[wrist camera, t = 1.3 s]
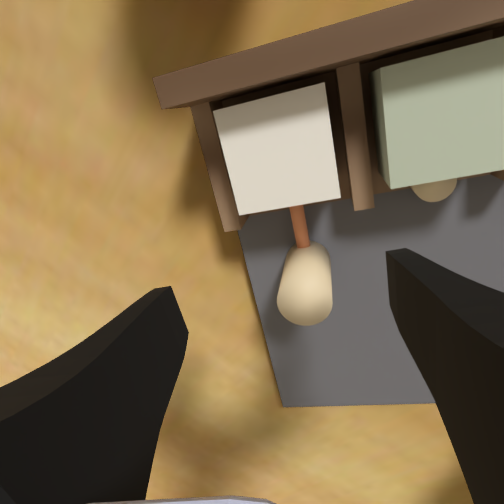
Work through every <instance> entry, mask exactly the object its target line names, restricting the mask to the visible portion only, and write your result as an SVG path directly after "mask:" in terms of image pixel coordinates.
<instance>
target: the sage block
mask: <svg viewBox="0 0 504 504" xmlns="http://www.w3.org/2000/svg"><path fill="white" fill-rule="evenodd" d="M369 82H370V93H371V103H372V113H373V123H374V133H375V143H376V153H377V164H378V172H379V173H380V175H381V176H382V178H383V179H384V180H385V182H386V183H387V185H388V186H389V187H390V189H395V188H401V187H407V186H410V187H411V189H412V190H413V191H414V192H415V194H416V195H417V196H418V197H419V198H421V199H422V200H424V201H427V202H437V201H441V200H443V199H445V198H447V197H448V196H449V195H450V194H451V193H452V192H453V190H454V189H455V187H456V183H457V178H459V177H465V176H470V175H476V174H482V173H488V172H494V171H499V170H504V36H503V37H499V38H495V39H491V40H487V41H483V42H479V43H476V44H472V45H468V46H464V47H460V48H456V49H452V50H448V51H444V52H440V53H437V54H433V55H429V56H425V57H421V58H417V59H413V60H409V61H405V62H402V63H398V64H394V65H390V66H386V67H382V68H379V69H377V70H375V71H373V72H370V73H369Z"/></svg>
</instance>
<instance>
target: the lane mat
mask: <svg viewBox="0 0 504 504" xmlns="http://www.w3.org/2000/svg"><path fill="white" fill-rule="evenodd" d="M373 197H374V206H375V208H370V209H364V210H358V211H354V207H353V203H352V200H351V198H350V199H344V200H339V201H333V202H327V203H321V204H315V205H309V206H304V213H305V218H306V224H307V229H308V235H309V240H310V241H315V242H317V243H320V244H321V245H323V246H324V247H325V248H326V249H327V251H328V252H329V255H330V259H331V280H332V302H333V304H332V310H331V312H330V314H329V315H328V317H327V318H326V319H325V320H323V321H322V322H320V323H318V324H315V325H310V326H302V325H297V324H294V323H292V322H290V321H288V320H287V319H286V318H285V317H284V316H283V315H282V314H281V313H280V311H279V309H278V306H277V295H278V291H279V286H280V282H281V278H282V273H283V269H284V264H285V260H286V256H287V253H288V251H289V249H290V248H291V247H292V246H293V245H295V244H296V239H295V234H294V229H293V224H292V219H291V214H290V209H286V210H280V211H274V212H269V213H263V214H257V215H251V216H249V217H248V219H247V221H246V222H245V224H244V226H243V227H242V229H241V230H238V234H239V238H240V242H241V246H242V250H243V254H244V257H245V261H246V265H247V269H248V273H249V277H250V281H251V284H252V288H253V292H254V296H255V300H256V304H257V308H258V312H259V315H260V319H261V323H262V327H263V331H264V335H265V339H266V343H267V346H268V350H269V354H270V358H271V362H272V366H273V370H274V373H275V377H276V381H277V385H278V389H279V393H280V397H281V401H282V404H283V407H311V406H348V405H385V404H422V403H435V400H434V398H433V396H432V394H431V392H430V390H429V388H428V386H427V384H426V382H425V380H424V378H423V377H422V375H421V373H420V371H419V369H418V367H417V365H416V363H415V361H414V359H413V358H412V356H411V354H410V352H409V350H408V348H407V346H406V344H405V342H404V340H403V338H402V336H401V334H400V332H399V330H398V327H397V325H396V322H395V319H394V316H393V314H392V311H391V308H390V305H389V292H388V278H387V265H386V252H385V251H390V250H396V249H402V248H407V249H410V250H412V251H414V252H416V253H418V254H420V255H422V256H423V257H425V258H427V259H429V260H431V261H433V262H435V263H437V264H439V265H441V266H443V267H445V268H447V269H449V270H451V271H453V272H455V273H457V274H459V275H462V276H464V277H466V278H468V279H471V280H473V281H475V282H478V283H480V284H483V285H485V286H487V287H490V288H493V289H495V290H498V291H501V292H504V181H503V180H501V179H499V178H497V177H495V176H493V175H491V174H490V175H485V176H479V177H473V178H467V179H461V180H457V183H456V187H455V189H454V190H453V192H452V193H451V194H450V195H449V196H448V197H447V198H445V199H443V200H441V201H437V202H427V201H424V200H422V199H421V198H419V197H418V196H417V195H416V194H415V192H414V191H413V190H412V189H411V188H409V189H403V190H397V191H391V192H385V193H379V194H374V195H373Z"/></svg>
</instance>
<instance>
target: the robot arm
mask: <svg viewBox="0 0 504 504" xmlns="http://www.w3.org/2000/svg"><path fill="white" fill-rule="evenodd" d="M385 252H386V265H387V278H388V292H389V305H390V308H391V311H392V314H393V316H394V319H395V322H396V325H397V327H398V330H399V332H400V334H401V336H402V338H403V340H404V342H405V344H406V346H407V348H408V350H409V352H410V354H411V356H412V358H413V359H414V361H415V363H416V365H417V367H418V369H419V371H420V373H421V375H422V377H423V378H424V380H425V382H426V384H427V386H428V388H429V390H430V392H431V394H432V396H433V398H434V400H435V403H436V405H437V407H438V410H439V412H440V415H441V417H442V420H443V422H444V425H445V427H446V430H447V432H448V435H449V437H450V440H451V443H452V445H453V448H454V451H455V453H456V456H457V459H458V461H459V464H460V466H461V469H462V472H463V474H464V477H465V480H466V483H467V485H468V488H469V491H470V494H471V496H472V499H473V502H474V504H504V292H501V291H498V290H495V289H493V288H490V287H487V286H485V285H483V284H480V283H478V282H475V281H473V280H471V279H468V278H466V277H464V276H462V275H459V274H457V273H455V272H453V271H451V270H449V269H447V268H445V267H443V266H441V265H439V264H437V263H435V262H433V261H431V260H429V259H427V258H425V257H423V256H422V255H420V254H418V253H416V252H414V251H412V250H410V249H407V248H402V249H396V250H390V251H385ZM188 333H189V332H188V329H187V327H186V324H185V322H184V319H183V316H182V314H181V311H180V309H179V306H178V303H177V301H176V298H175V295H174V293H173V290H172V288H171V286H168V287H162V288H156V289H153V290H152V291H150V292H148V293H147V294H145V295H144V296H143V297H141V298H140V299H139V300H137V301H136V302H135V303H133V304H132V305H131V306H129V307H128V308H127V309H126V310H124V311H123V312H122V313H120V314H119V315H118V316H116V317H115V318H114V319H113V320H111V321H110V322H109V323H107V324H106V325H104V326H103V327H102V328H100V329H99V330H98V331H96V332H95V333H93V334H92V335H91V336H89V337H88V338H87V339H85V340H84V341H82V342H81V343H79V344H78V345H76V346H75V347H73V348H72V349H70V350H68V351H67V352H65V353H64V354H62V355H60V356H59V357H57V358H55V359H54V360H52V361H50V362H49V363H47V364H45V365H43V366H41V367H39V368H37V369H36V370H34V371H32V372H30V373H28V374H26V375H24V376H22V377H21V378H19V379H17V380H15V381H13V382H11V383H9V384H7V385H4V386H2V387H0V504H276V503H273V502H271V501H269V500H267V499H260V498H251V497H241V496H214V497H195V498H176V499H158V500H145V498H146V493H147V488H148V483H149V478H150V473H151V468H152V463H153V458H154V454H155V449H156V445H157V441H158V436H159V432H160V428H161V425H162V422H163V418H164V415H165V412H166V409H167V406H168V404H169V401H170V398H171V395H172V392H173V389H174V386H175V383H176V381H177V378H178V375H179V372H180V369H181V366H182V363H183V360H184V356H185V351H186V346H187V340H188Z"/></svg>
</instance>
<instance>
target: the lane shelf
mask: <svg viewBox="0 0 504 504" xmlns="http://www.w3.org/2000/svg"><path fill="white" fill-rule="evenodd" d="M503 36H504V0H414V1H410V2H407V3H403V4H400V5H397V6H393V7H390V8H387V9H383V10H380V11H376V12H373V13H370V14H366V15H363V16H360V17H356V18H353V19H349V20H346V21H343V22H339V23H336V24H333V25H329V26H326V27H322V28H319V29H316V30H312V31H309V32H306V33H302V34H299V35H295V36H292V37H289V38H285V39H282V40H279V41H275V42H272V43H268V44H265V45H262V46H258V47H255V48H252V49H248V50H245V51H241V52H238V53H235V54H231V55H228V56H225V57H221V58H218V59H214V60H211V61H208V62H204V63H201V64H198V65H194V66H191V67H187V68H184V69H181V70H177V71H174V72H171V73H167V74H164V75H160V76H157V77H154V78H152V79H153V82H154V85H155V89H156V92H157V95H158V99H159V102H160V105H161V108H162V109H171V108H182V107H191V111H192V115H193V118H194V122H195V126H196V129H197V133H198V137H199V140H200V144H201V148H202V151H203V155H204V159H205V162H206V166H207V170H208V173H209V177H210V181H211V184H212V188H213V192H214V195H215V199H216V203H217V206H218V210H219V214H220V217H221V221H222V225H223V228H224V232H228V231H235V230H241V229H242V227H243V226H244V224H245V222H246V221H247V219H248V217H249V216H251V215H257V214H263V213H269V212H274V211H280V210H286V209H290V208H289V207H285V208H280V209H274V210H268V211H262V212H256V213H251V214H245V215H239V213H238V209H237V205H236V201H235V197H234V193H233V189H232V185H231V181H230V177H229V173H228V169H227V165H226V161H225V157H224V153H223V149H222V145H221V142H220V138H219V134H218V130H217V126H216V122H215V118H214V114H213V111H215V110H219V109H223V108H226V107H230V106H234V105H238V104H242V103H246V102H250V101H254V100H258V99H261V98H265V97H269V96H273V95H277V94H281V93H285V92H289V91H293V90H296V89H300V88H304V87H308V86H312V85H316V84H320V83H324V82H325V89H326V96H327V103H328V110H329V117H330V124H331V131H332V138H333V145H334V152H335V160H336V167H337V174H338V181H339V188H340V195H341V198H337V199H332V200H326V201H320V202H314V203H308V204H303V207H304V206H309V205H315V204H321V203H327V202H333V201H339V200H344V199H350V198H351V200H352V203H353V207H354V211H358V210H364V209H370V208H375V206H374V197H373V195H374V194H379V193H385V192H391V191H397V190H403V189H409V188H411V187H410V186H407V187H401V188H395V189H390V187H389V186H388V185H387V183H386V182H385V180H384V179H383V178H382V176H381V175H380V173H379V172H378V164H377V153H376V143H375V133H374V123H373V113H372V103H371V93H370V82H369V73H370V72H373V71H375V70H377V69H379V68H382V67H386V66H390V65H394V64H398V63H402V62H405V61H409V60H413V59H417V58H421V57H425V56H429V55H433V54H437V53H440V52H444V51H448V50H452V49H456V48H460V47H464V46H468V45H472V44H476V43H479V42H483V41H487V40H491V39H495V38H499V37H503ZM490 174H491V175H493V176H495V177H497V178H499V179H501V180H503V181H504V170H499V171H494V172H488V173H482V174H476V175H470V176H465V177H459V178H457V180H461V179H467V178H473V177H479V176H485V175H490Z"/></svg>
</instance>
